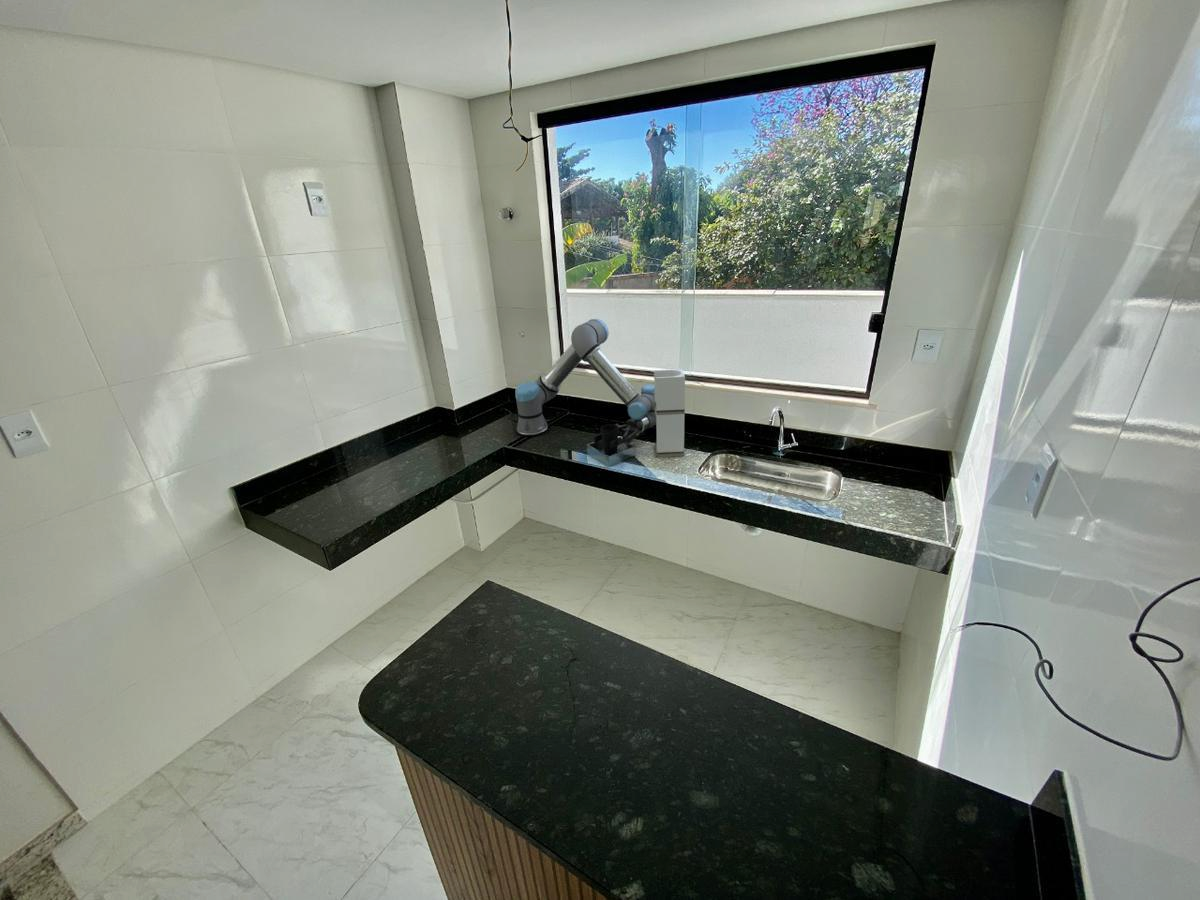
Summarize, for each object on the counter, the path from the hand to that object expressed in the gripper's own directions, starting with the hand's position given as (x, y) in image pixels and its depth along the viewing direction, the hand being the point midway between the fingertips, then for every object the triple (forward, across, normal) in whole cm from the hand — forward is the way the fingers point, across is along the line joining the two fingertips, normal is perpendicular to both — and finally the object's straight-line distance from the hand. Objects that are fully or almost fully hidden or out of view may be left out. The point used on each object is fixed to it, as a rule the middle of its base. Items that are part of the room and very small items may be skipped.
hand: (602, 442), depth 205 cm
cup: (-5, 0, -7) cm, 8 cm away
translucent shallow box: (-5, 0, -8) cm, 9 cm away
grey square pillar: (-23, -18, -8) cm, 30 cm away
